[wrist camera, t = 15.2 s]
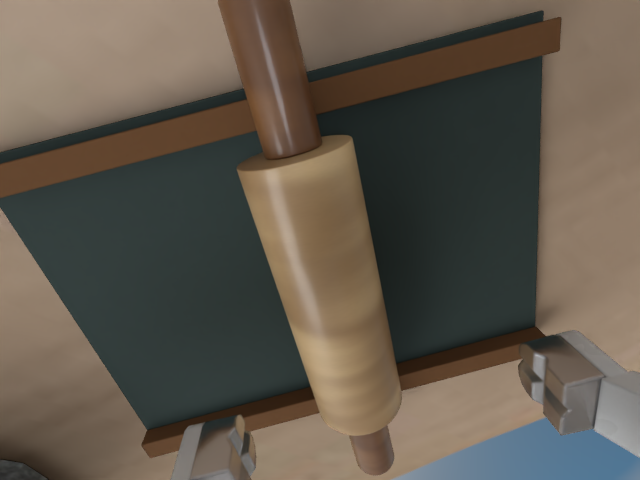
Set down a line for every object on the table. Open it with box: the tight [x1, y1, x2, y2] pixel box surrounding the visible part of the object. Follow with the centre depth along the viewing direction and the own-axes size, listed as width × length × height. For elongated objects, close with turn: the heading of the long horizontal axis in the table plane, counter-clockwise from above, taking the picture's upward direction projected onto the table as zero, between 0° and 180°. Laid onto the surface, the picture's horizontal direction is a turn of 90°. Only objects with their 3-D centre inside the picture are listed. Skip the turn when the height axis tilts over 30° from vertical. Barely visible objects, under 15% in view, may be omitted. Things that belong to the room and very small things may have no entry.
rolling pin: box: [218, 0, 402, 475], centre depth 16 cm, size 4×23×4 cm, turn 13°
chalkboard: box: [0, 11, 561, 458], centre depth 17 cm, size 24×18×2 cm
